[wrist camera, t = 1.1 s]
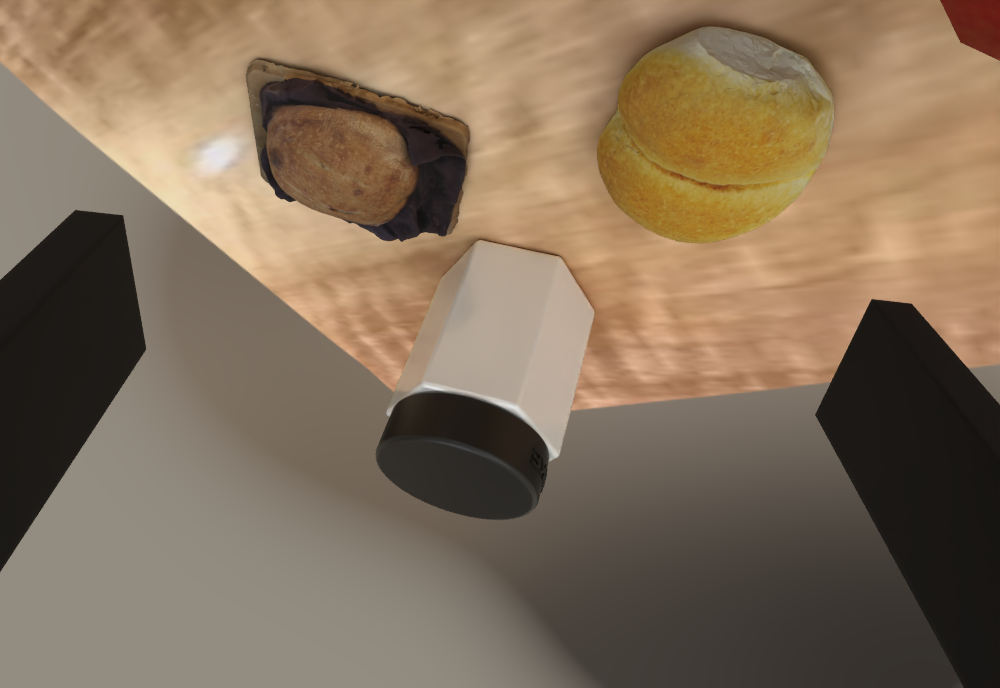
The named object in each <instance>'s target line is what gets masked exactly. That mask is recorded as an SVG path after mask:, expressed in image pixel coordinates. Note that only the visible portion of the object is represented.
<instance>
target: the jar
mask: <svg viewBox="0 0 1000 688" xmlns="http://www.w3.org/2000/svg"><path fill="white" fill-rule="evenodd" d="M594 315H595V311H594V309H593V308H592V306H591V304H590V303H589V301H588V300H587V298H586V296H585V295H584V293H583V292H582V290H581V288H580V287H579V285H578V283H577V282H576V280H575V279H574V277H573V275H572V274H571V272H570V271H569V269H568V267H567V266H566V264H565V262H564V261H563V259H562V258H561V257H559V256H554V255H549V254H545V253H540V252H535V251H531V250H526V249H521V248H516V247H512V246H507V245H502V244H498V243H493V242H488V241H483V240H478V241H476V242H475V243H474V244H473V245H472V246H471V247H470V248H469V249H468V250H467V251H466V253H465V254H464V255H463V256H462V257H461V258H460V259H459V260H458V261H457V262H456V263H455V264H454V265H453V266H452V267H451V268H450V269H449V270H448V271H447V272H446V273H445V274H444V275H443V276H442V277H441V279H440V281H439V284H438V286H437V289H436V291H435V294H434V296H433V299H432V301H431V303H430V306H429V308H428V311H427V313H426V316H425V318H424V320H423V323H422V325H421V328H420V330H419V333H418V335H417V337H416V340H415V342H414V345H413V347H412V350H411V352H410V354H409V357H408V359H407V362H406V364H405V367H404V369H403V372H402V374H401V376H400V379H399V381H398V384H397V386H396V389H395V391H394V393H393V396H392V399H391V401H390V403H389V406H388V408H387V411H386V413H387V415H388V417H389V420H388V422H387V425H386V427H385V430H384V432H383V435H382V437H381V440H380V442H379V445H378V447H377V450H376V461H377V463H378V466H379V468H380V469H381V470H382V472H383V473H384V474H385V476H386V477H387V478H388V479H389V480H390V481H392V482H393V483H394V484H395V485H396V486H398V487H399V488H401V489H402V490H404V491H405V492H407V493H409V494H410V495H412V496H414V497H416V498H418V499H420V500H421V501H424V502H426V503H428V504H430V505H433V506H436V507H438V508H441V509H444V510H446V511H449V512H453V513H457V514H460V515H465V516H469V517H474V518H481V519H490V520H491V519H492V520H508V519H515V518H519V517H522V516H525V515H527V514H529V513H530V512H532V511H533V510H534V509H535V507H536V506H537V504H538V501H539V496H540V493H541V492H542V490H543V487H544V484H545V480H546V476H547V466H548V462H549V461H551V460H553V459H555V458H557V457H559V455H560V451H561V447H562V443H563V439H564V435H565V431H566V427H567V423H568V419H569V415H570V411H571V407H572V403H573V399H574V395H575V391H576V387H577V383H578V379H579V375H580V371H581V367H582V363H583V359H584V355H585V351H586V347H587V343H588V339H589V335H590V331H591V327H592V323H593V319H594Z"/></svg>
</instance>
